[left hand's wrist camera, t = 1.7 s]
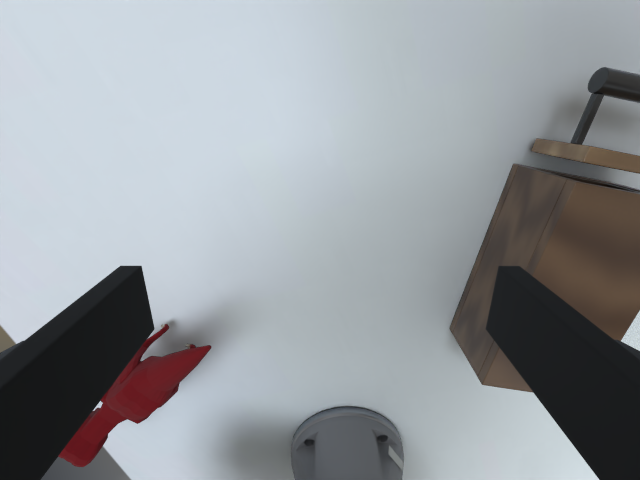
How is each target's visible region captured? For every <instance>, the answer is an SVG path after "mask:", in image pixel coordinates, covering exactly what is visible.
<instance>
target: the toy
mask: <svg viewBox="0 0 640 480" xmlns="http://www.w3.org/2000/svg"><path fill="white" fill-rule="evenodd" d="M162 325H163V324H162ZM162 325H161V327H163V328H162V329H161V330H160V331H159V332H157V333H156V334H154V335H153V336H151V337H150V338H148V339H147V340H146V341H145V342H144V343H143V345H142V346H141V347H140V349H139V350H138V351H137V353H136V354H135V355H134V357H133V358H132V359H131V361H130V362H129V363H128V365H127V366H126V367H125V369H124V370H123V371H122V373H121V374H120V375H119V377H118V378H117V379H116V380H115V382H114V383H113V384H112V386H111V387H110V388H109V390H108V391H107V392H106V394H105V395H104V396H103V398H102V399H101V400H100V401H101V402H103V404H102V407H101V408H97V409H96V410H95V411H92V412H91V414H90V415H89V416H88V417H87V419H86V420H85V421H84V423H83V424H82V425H81V427H80V428H79V429H78V431H77V432H76V433H75V435H74V436H73V437H72V439H71V440H70V441H69V443H68V444H67V445H66V447H65V448H64V449H63V450H62V452H61V453H60V454H59V456H58V457H60V458H64V459H65V460H66V461H68V462H71V463H72V464H73V465H74V466H77V467H84V466H86V465H87V464H89V463H90V462H91V461H92V460H93V459H94V457H95V456H96V455H97V453H98V452H99V450H100V449H101V448H102V446H103V445H104V443H105V441H106V440H107V438H108V433H109V432H110V431H111V430H112V429H113V428H114V427H115V426H116V425H117V424H118V423H120V422H122V421H124V420H126V419H128V420H131V421H133V422H135V423H137V424H138V423H140V422H142V421H143V420H145V419H147V418H148V417H149V416H150V414H151V413H152V412H154V411H155V410H156V409H157V408H159V407H161V406H162V405H164V404H165V403H166V402H167V401H168V400H169V399H170V398H171V397H172V396H173V395H174V394H175V393H176V392H177V391H178V387H179V383H180V382H181V381H182V380H183V379H184V378H185V377H186V376H187V375H188V374H189V373H190V372H191V371H192V370H193V369H194V368H195V367H196V366H197V365H198V364H199V363H200V361H201V360H202V359H203V358H204V356H205V355H206V354H207V353H208V351H209V350H210V349H211V346H210V345H208V346H202V347H197V348H196V347H195V345H193V344H188V345H187V344H186V347H188V349H186V350H183V351H179V352H176V353H172V354H169V355H166V356H163V357H156V356H151V357H148V358H147V359H145V360H144V361H140V359H141V357H142V355H143V354H144V352H145V351H146V350H147V348H148V347H149V346H150V345H151V344H152V343H153V342H154V341H155V340H156V339H158V338H159V337H160V336H161V335H162V334H164V333H165V332H166V331H167V330H168V329H169V326H168V324H164V325H163V326H162Z"/></svg>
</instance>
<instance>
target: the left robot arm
mask: <svg viewBox="0 0 640 480" xmlns="http://www.w3.org/2000/svg"><path fill="white" fill-rule="evenodd" d="M153 330H154V324H153V319H152V315H151V310H150V305H149V300H148V295H147V291H146V286H145V281H144V276H143V271H142V266H120V267H119V268H117V269H116V270H115V271H113V272H112V273H111V274H110V275H108V276H107V277H106V278H104V279H103V280H102V281H101V282H99V283H98V284H97V285H95V286H94V287H93V288H92V289H90V290H89V291H88V292H87V293H85V294H84V295H83V296H81V297H80V298H79V299H78V300H76V301H75V302H74V303H72V304H71V305H70V306H69V307H67V308H66V309H65V310H63V311H62V312H61V313H60V314H58V315H57V316H56V317H54V318H53V319H52V320H51V321H49V322H48V323H47V324H45V325H44V326H43V327H42V328H40V329H39V330H38V331H37V332H35V333H34V334H33V335H31V336H30V337H29V338H28V339H26V340H25V341H22V342H20V343H18V344H16V345H14V346H12V347H11V348H9V349H7V350H5V351H3V352H1V353H0V480H41V478H42V477H43V476H44V474H45V473H46V472H47V470H48V469H49V468H50V466H51V465H52V464H53V462H54V461H55V460H56V458H57V457H58V456H59V454H60V453H61V452H62V450H63V449H64V448H65V447H66V445H67V444H68V443H69V441H70V440H71V439H72V437H73V436H74V435H75V433H76V432H77V431H78V429H79V428H80V427H81V425H82V424H83V423H84V421H85V420H86V419H87V417H88V416H89V415H90V414H91V412H92V411H93V410H94V408H95V407H96V406H97V404H98V403H99V402H100V400H101V399H102V398H103V396H104V395H105V394H106V392H107V391H108V390H109V388H110V387H111V386H112V384H113V383H114V382H115V380H116V379H117V378H118V377H119V375H120V374H121V373H122V371H123V370H124V369H125V367H126V366H127V365H128V363H129V362H130V361H131V359H132V358H133V357H134V355H135V354H136V353H137V351H138V350H139V349H140V347H141V346H142V345H143V343H144V342H145V341H146V340H147V338H148V337H149V336H150V334H151V333H152V332H153ZM486 330H487V332H488V333H489V334H490V336H491V337H492V338H493V340H494V341H495V342H496V343H497V345H498V346H499V347H500V349H501V350H502V351H503V353H504V354H505V355H506V357H507V358H508V359H509V361H510V362H511V363H512V365H513V366H514V367H515V369H516V370H517V371H518V373H519V374H520V375H521V377H522V378H523V379H524V380H525V382H526V383H527V384H528V386H529V387H530V388H531V390H532V391H533V392H534V394H535V395H536V396H537V398H538V399H539V400H540V402H541V403H542V404H543V406H544V407H545V408H546V410H547V411H548V412H549V414H550V415H551V416H552V417H553V419H554V420H555V421H556V423H557V424H558V425H559V427H560V428H561V429H562V431H563V432H564V433H565V435H566V436H567V437H568V439H569V440H570V441H571V443H572V444H573V445H574V447H575V448H576V449H577V450H578V452H579V453H580V454H581V456H582V457H583V458H584V460H585V461H586V462H587V464H588V465H589V466H590V468H591V469H592V470H593V472H594V473H595V474H596V476H597V477H598V478H599V480H640V351H638V350H636V349H634V348H632V347H631V346H629V345H627V344H625V343H623V342H621V341H619V340H614V339H612V338H611V337H610V336H609V335H607V334H606V333H605V332H603V331H602V330H601V329H600V328H598V327H597V326H596V325H595V324H593V323H592V322H591V321H589V320H588V319H587V318H586V317H584V316H583V315H582V314H580V313H579V312H578V311H577V310H575V309H574V308H573V307H571V306H570V305H569V304H568V303H566V302H565V301H564V300H562V299H561V298H560V297H559V296H557V295H556V294H555V293H553V292H552V291H551V290H550V289H548V288H547V287H546V286H545V285H543V284H542V283H541V282H539V281H538V280H537V279H536V278H534V277H533V276H532V275H530V274H529V273H528V272H527V271H525V270H524V269H523V268H521V267H520V266H498V271H497V276H496V281H495V286H494V291H493V295H492V300H491V305H490V310H489V315H488V319H487V324H486ZM291 462H292V469H293V473H294V477H295V480H402V474H403V463H404V456H403V447H402V443H401V439H400V436H399V433H398V431H397V429H396V428H395V427H394V425H393V424H392V423H391V422H390V421H389V420H387V419H386V418H385V417H383V416H381V415H379V414H377V413H375V412H372V411H370V410H366V409H361V408H354V407H342V408H334V409H330V410H326V411H323V412H320V413H318V414H316V415H314V416H312V417H311V418H309V419H308V420H306V421H305V422H304V423H303V424H302V425H301V426H300V427H299V428H298V430H297V431H296V433H295V435H294V437H293V441H292V449H291Z"/></svg>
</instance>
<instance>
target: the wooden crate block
mask: <svg viewBox="0 0 640 480" xmlns="http://www.w3.org/2000/svg"><path fill="white" fill-rule="evenodd" d="M544 171H546V172H544ZM548 172H551V173H556V174H561V175H566V176H572V177H577V178H582V179H587V180H592V181H597V182H602V183H608V184H612V185H615V186H619V187H623V188H627V189H630V190H634V191H638V192H640V190H639V189H635V188H631V187H627V186H623V185H619V184H615V183H612V182H606V181H601V180H596V179H591V178H586V177H581V176H576V175H570V174H565V173H560V172H555V171H550V170H545V169H540V168H534V167H529V166H524V165H519V164H513V166H512V169H511V171H510V174H509V177H508V179H507V182H506V184H505V187H504V190H503V192H502V195H501V197H500V200H499V202H498V205H497V208H496V210H495V213H494V215H493V218H492V220H491V223H490V226H489V228H488V231H487V233H486V236H485V239H484V241H483V244H482V246H481V249H480V251H479V254H478V257H477V259H476V262H475V264H474V267H473V269H472V272H471V275H470V277H469V280H468V282H467V285H466V287H465V290H464V293H463V295H462V298H461V300H460V303H459V306H458V308H457V311H456V313H455V316H454V318H453V321H452V324H451V326H450V330H451V332H452V333H453V335H454V337H455V339H456V340H457V342H458V344H459V346H460V347H461V349H462V351H463V353H464V354H465V356H466V358H467V359H468V361H469V363H470V365H471V366H472V368H473V370H474V371H475V373H476V375H477V377H478V379H479V380H480V382H481V384H482V385H487V386H494V387H500V388H507V389H514V390H521V391H527V392H533V391H532V390H531V388H530V387H529V386H528V384H527V383H526V382H525V380H524V379H523V378H522V377H521V375H520V374H519V373H518V371H517V370H516V369H515V367H514V366H513V365H512V363H511V362H510V361H509V359H508V358H507V357H506V355H505V354H504V353H503V351H502V350H501V349H500V347H499V346H498V345H497V343H496V342H495V341H494V340H493V338H492V337H491V336H490V334H489V333H488V332H487V330H486V324H487V319H488V315H489V310H490V305H491V300H492V295H493V291H494V286H495V281H496V276H497V271H498V266H520V267H521V268H523V269H524V270H525V271H527V272H528V273H529V274H530V275H532V276H533V277H534V278H536V279H537V280H538V281H539V282H541V283H542V284H543V285H545V286H546V287H547V288H548V289H550V290H551V291H552V292H553V293H555V294H556V295H557V296H559V297H560V298H561V299H562V300H564V301H565V302H566V303H568V304H569V305H570V306H571V307H573V308H574V309H575V310H577V311H578V312H579V313H580V314H582V315H583V316H584V317H586V318H587V319H588V320H589V321H591V322H592V323H593V324H595V325H596V326H597V327H598V328H600V329H601V330H602V331H603V332H605V333H606V334H607V335H609V336H610V337H611V338H612V339H614V340H619V341H621V340H622V338H623V336H624V335H625V333H626V331H627V330H628V328H629V327H630V325H631V323H632V322H633V320H634V319H635V317H636V315H637V314H638V312H639V310H640V193H636V192H631V191H625V190H620V189H615V188H610V187H605V186H600V185H594V184H589V183H584V182H579V181H575V180H572V179H568V178H565V177H562V176H558V175H555V174H551V173H548Z"/></svg>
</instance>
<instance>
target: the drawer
mask: <svg viewBox="0 0 640 480" xmlns="http://www.w3.org/2000/svg"><path fill="white" fill-rule="evenodd" d="M588 90H589V92H591V93H594V94H592V95H591V97H590V99H589V102H588V104H587V106H586V109H585V111H584V113H583V115H582V118H581V120H580V122H579V125H578V127H577V129H576V131H575V134H574V136H573V138H572V140H571V143H565V142H558V141H552V140H545V139H538V138H537V139H536V140H535V143H534V145H533V148H532V150H531V151H532V152H537V153H541V154H546V155H551V156H555V157H560V158H565V159H570V160H574V161H579V162H584V163H589V164H594V165H599V166H604V167H609V168H614V169H619V170H624V171H629V172H635V173H640V156H637V155H632V154H627V153H622V152H617V151H612V150H607V149H602V148H597V147H592V146H586V145H582V143H583V141H584V139H585V137H586V134H587V132H588V130H589V128H590V125H591V123H592V121H593V119H594V117H595V114H596V112H597V110H598V108H599V106H600V103H601V101H602V99H603V97H604V96H609V97H614V98H619V99H623V100H628V101H633V102H638V103H640V75H638V74H634V73H629V72H625V71H620V70H615V69H611V68H606V67H604V68H600V69H599V70H597V71H596V72H595V73H594V74H593V76H592V77H591V79H590V81H589V83H588ZM544 172H546V171H544ZM548 173H551V172H548ZM551 174H555V175H558V176H562V177H565V178H568V179H572V180H575V181H579V182H584V183H589V184H594V185H600V186H605V187H610V188H615V189H620V190H625V191H631V192H636V193H640V192H638V191H634V190H630V189H627V188H623V187H619V186H615V185H612V184H608V183H602V182H597V181H592V180H587V179H582V178H577V177H572V176H566V175H561V174H556V173H551Z"/></svg>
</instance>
